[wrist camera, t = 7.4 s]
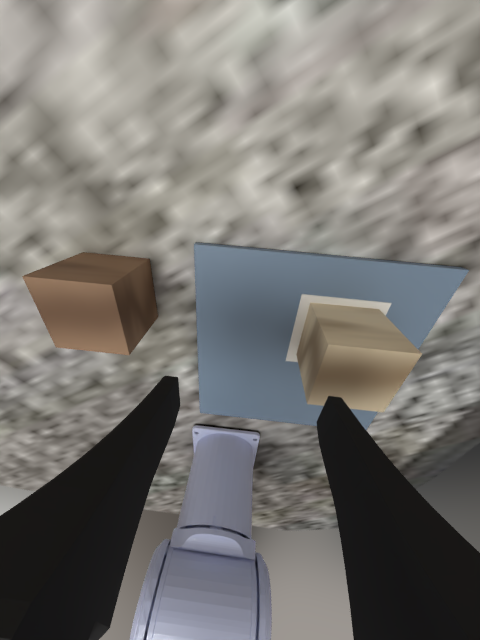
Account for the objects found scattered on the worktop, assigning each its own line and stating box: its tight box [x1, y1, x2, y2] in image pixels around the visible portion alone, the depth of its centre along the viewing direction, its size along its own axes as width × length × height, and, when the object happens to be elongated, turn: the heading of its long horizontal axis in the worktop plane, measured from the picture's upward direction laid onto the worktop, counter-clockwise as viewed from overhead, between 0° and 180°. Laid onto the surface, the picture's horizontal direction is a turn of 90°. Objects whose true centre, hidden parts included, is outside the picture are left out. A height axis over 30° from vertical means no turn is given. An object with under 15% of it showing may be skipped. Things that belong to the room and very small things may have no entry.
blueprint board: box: [194, 242, 469, 430], centre depth 19 cm, size 18×18×1 cm
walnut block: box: [22, 252, 158, 355], centre depth 15 cm, size 5×5×5 cm
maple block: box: [296, 303, 422, 412], centre depth 15 cm, size 5×5×5 cm
